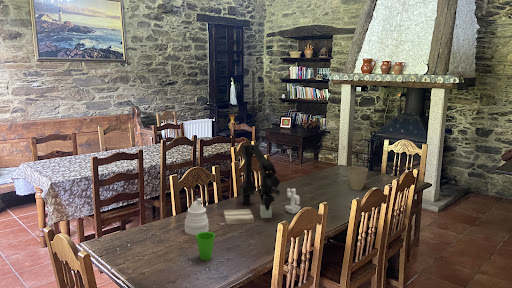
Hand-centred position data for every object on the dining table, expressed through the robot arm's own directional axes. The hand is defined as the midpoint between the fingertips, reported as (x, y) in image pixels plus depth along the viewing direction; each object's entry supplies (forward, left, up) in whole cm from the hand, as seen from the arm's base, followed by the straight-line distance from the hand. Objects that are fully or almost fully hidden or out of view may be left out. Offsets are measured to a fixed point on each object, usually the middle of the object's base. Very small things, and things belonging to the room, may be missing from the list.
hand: (265, 207), depth 235 cm
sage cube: (0, 0, -5) cm, 5 cm away
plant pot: (-46, +80, -5) cm, 92 cm away
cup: (+49, -39, -5) cm, 63 cm away
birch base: (+2, -17, -5) cm, 18 cm away
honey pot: (+16, -42, -5) cm, 45 cm away
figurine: (-4, +18, -5) cm, 19 cm away
